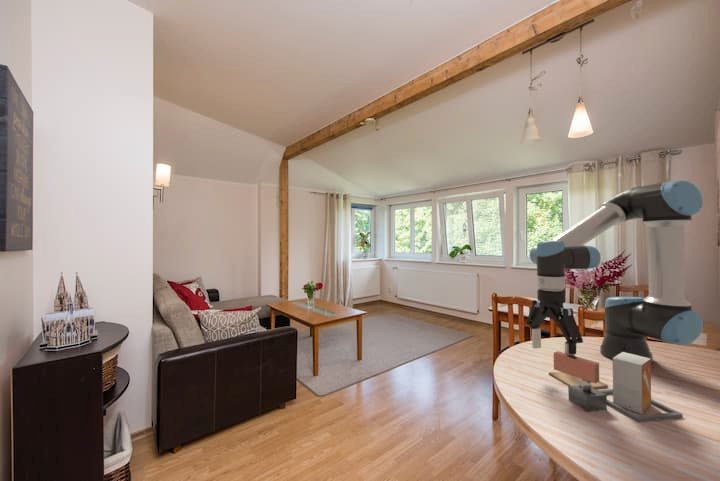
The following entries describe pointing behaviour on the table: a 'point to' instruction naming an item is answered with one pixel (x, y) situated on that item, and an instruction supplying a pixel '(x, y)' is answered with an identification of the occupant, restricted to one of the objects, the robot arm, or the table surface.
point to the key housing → (587, 398)
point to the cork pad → (574, 380)
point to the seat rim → (669, 415)
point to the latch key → (577, 368)
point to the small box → (632, 382)
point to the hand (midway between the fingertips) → (552, 355)
